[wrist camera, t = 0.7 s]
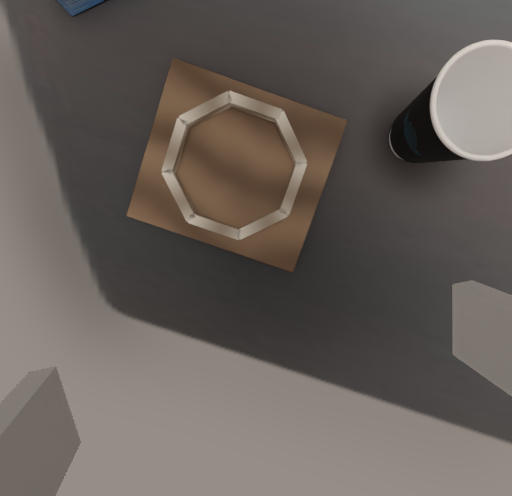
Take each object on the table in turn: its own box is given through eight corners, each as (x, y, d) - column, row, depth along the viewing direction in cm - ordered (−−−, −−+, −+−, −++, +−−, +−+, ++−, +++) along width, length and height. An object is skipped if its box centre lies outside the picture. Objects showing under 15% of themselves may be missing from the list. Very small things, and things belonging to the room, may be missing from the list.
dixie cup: (466, 127, 32) (573, 85, 21) (418, 192, 33) (497, 183, 22) (405, 80, 32) (482, 13, 21) (357, 147, 33) (407, 116, 22)
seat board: (176, 63, 32) (168, 50, 29) (344, 124, 32) (352, 116, 30) (131, 215, 34) (120, 216, 31) (291, 270, 34) (294, 275, 32)
